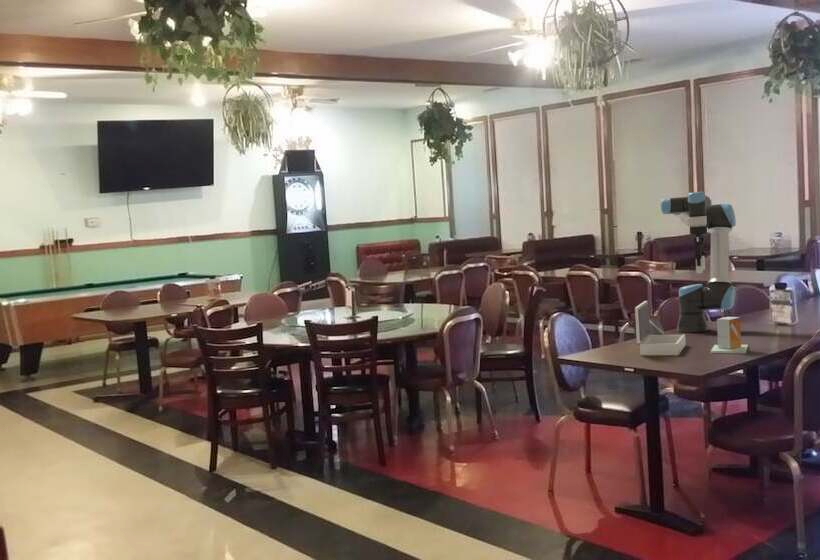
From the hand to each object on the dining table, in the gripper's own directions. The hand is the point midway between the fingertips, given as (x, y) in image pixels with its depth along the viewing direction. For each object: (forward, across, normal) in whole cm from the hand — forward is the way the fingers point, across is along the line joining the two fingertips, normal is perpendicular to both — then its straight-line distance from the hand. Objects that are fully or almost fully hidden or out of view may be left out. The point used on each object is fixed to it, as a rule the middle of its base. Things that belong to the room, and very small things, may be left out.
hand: (700, 271), depth 382 cm
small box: (+32, +20, +12) cm, 40 cm away
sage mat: (+33, +21, +12) cm, 41 cm away
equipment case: (+33, +21, -16) cm, 42 cm away
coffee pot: (+34, -3, -22) cm, 40 cm away
